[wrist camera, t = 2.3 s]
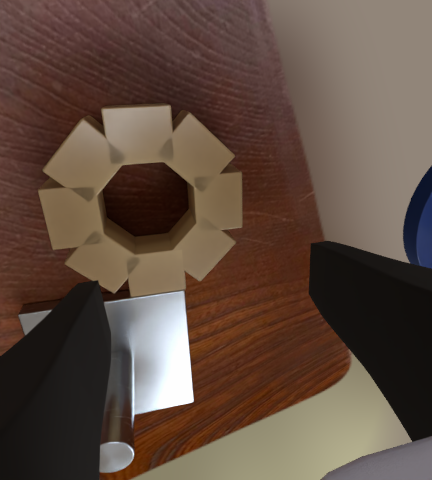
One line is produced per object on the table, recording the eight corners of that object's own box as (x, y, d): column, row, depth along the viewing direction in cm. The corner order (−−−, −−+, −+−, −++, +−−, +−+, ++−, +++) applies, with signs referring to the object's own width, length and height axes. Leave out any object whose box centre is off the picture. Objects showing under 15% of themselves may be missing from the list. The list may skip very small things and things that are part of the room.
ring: (228, 100, 17) (241, 101, 15) (231, 261, 21) (242, 281, 19) (33, 109, 16) (17, 111, 14) (73, 283, 19) (66, 307, 17)
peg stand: (182, 281, 21) (204, 362, 15) (191, 391, 25) (212, 494, 18) (22, 304, 19) (-31, 407, 13) (57, 418, 23) (30, 542, 17)
